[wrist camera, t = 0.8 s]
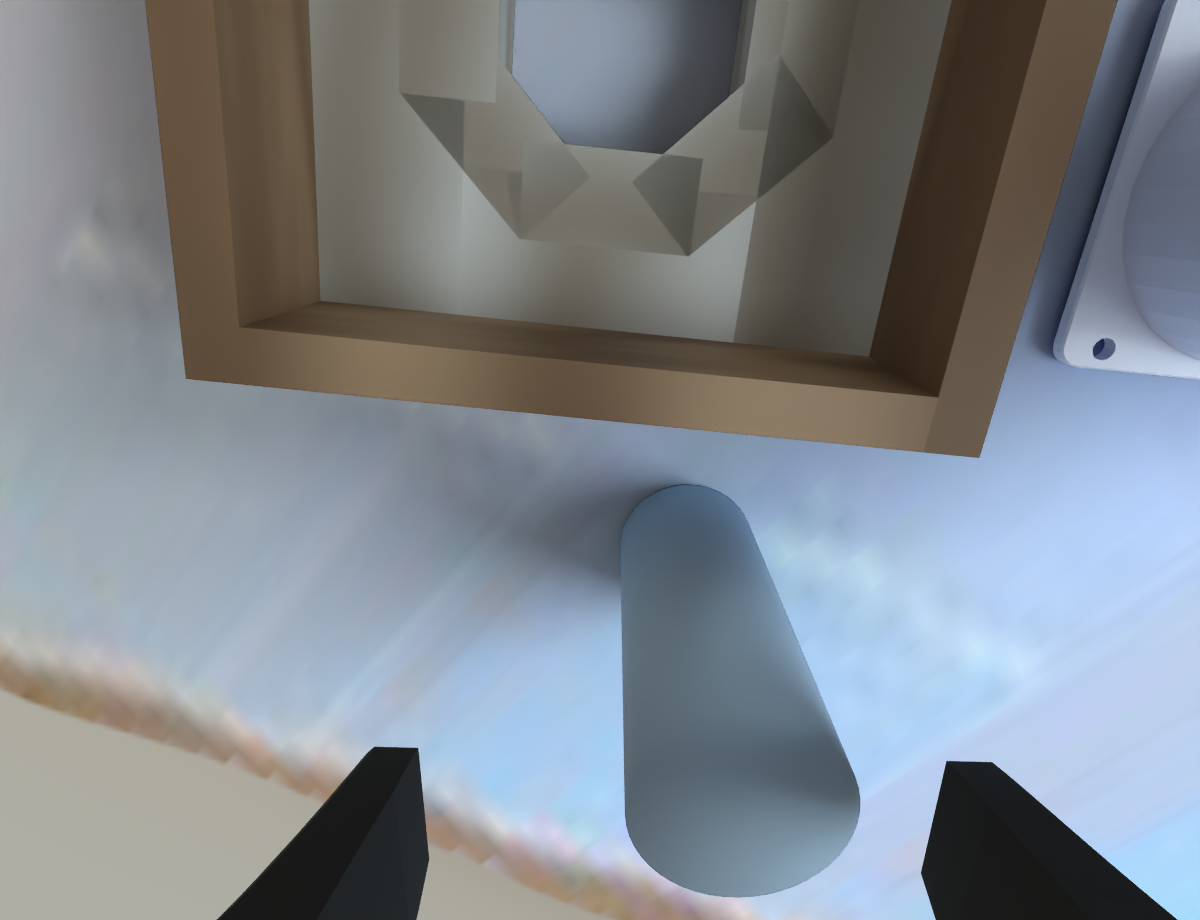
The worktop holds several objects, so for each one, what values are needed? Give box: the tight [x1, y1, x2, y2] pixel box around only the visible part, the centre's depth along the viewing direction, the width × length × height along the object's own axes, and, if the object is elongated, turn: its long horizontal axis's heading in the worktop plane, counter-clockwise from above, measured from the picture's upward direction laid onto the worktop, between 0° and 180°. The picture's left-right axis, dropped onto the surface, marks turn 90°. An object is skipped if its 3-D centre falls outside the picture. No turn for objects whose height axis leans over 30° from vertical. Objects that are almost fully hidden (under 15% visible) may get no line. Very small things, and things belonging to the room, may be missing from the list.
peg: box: [620, 485, 860, 897], centre depth 15 cm, size 4×4×9 cm
